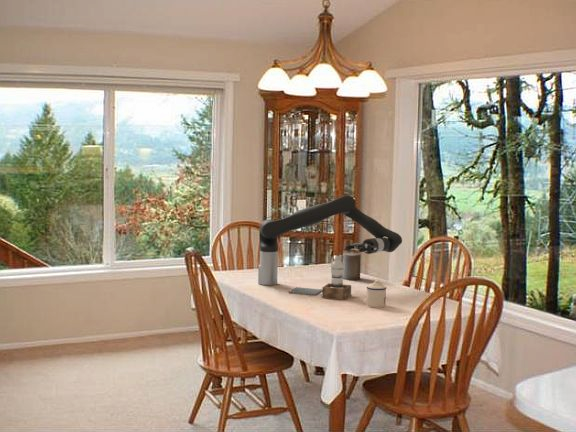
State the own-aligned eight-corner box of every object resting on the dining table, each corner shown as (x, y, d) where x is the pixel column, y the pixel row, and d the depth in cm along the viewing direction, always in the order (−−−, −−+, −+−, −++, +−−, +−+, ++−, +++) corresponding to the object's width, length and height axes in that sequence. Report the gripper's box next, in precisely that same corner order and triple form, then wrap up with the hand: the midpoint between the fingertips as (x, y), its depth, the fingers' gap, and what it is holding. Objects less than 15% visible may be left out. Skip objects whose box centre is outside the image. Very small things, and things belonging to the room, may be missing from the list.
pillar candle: (363, 278, 390) (363, 251, 389) (355, 280, 382) (355, 253, 380) (347, 276, 395) (348, 249, 394) (339, 279, 387) (339, 251, 386)
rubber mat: (288, 292, 349) (288, 291, 349) (296, 288, 360) (296, 287, 360) (315, 295, 344) (315, 294, 344) (322, 290, 356) (322, 289, 355)
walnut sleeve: (322, 297, 340) (322, 287, 339) (328, 293, 350) (328, 283, 349) (345, 299, 336) (345, 289, 336) (350, 295, 346) (351, 285, 345)
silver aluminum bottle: (334, 294, 347) (335, 253, 345) (346, 296, 344) (347, 255, 341) (327, 296, 342) (328, 255, 340) (339, 298, 338) (340, 257, 336)
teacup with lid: (388, 307, 322) (389, 282, 320) (369, 308, 320) (370, 282, 319) (380, 301, 333) (381, 277, 332) (361, 302, 332) (362, 277, 330)
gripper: (362, 236, 365) (341, 239, 353) (384, 239, 355) (364, 242, 343) (362, 251, 365) (341, 254, 354) (384, 254, 355) (364, 258, 344)
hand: (352, 249), depth 348 cm, fingers open, 8 cm apart
